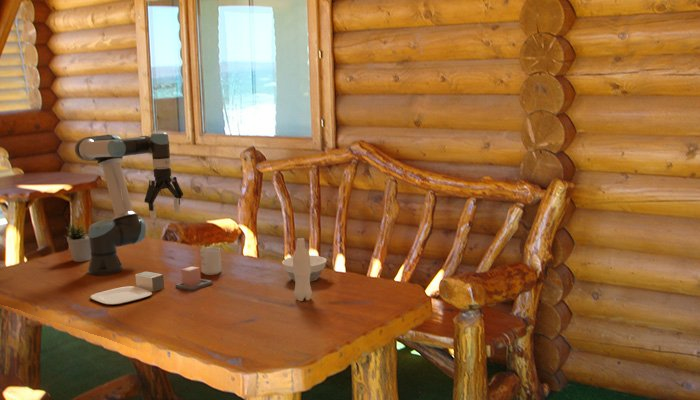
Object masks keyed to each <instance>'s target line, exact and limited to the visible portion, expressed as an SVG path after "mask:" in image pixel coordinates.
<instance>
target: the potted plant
mask: <svg viewBox="0 0 700 400" xmlns="http://www.w3.org/2000/svg"><path fill="white" fill-rule="evenodd" d="M79 225H80V224H78V225H77V226H75V224H74V223H73V222H72V223H71V224H70V223H68V225H67V226H65V228H66V229H67V231H68V232H67V234H68V236H66V235H64V237H65V238H66V241H67V244H68V247H69V250H70V251H69V252H70V255H71V258H72V261H73V262H75V263H83V262H89V261H90V259H91V250H90V240H89V228H87V227H88V225H87V226H85V224H82V225H81V226H79Z"/></svg>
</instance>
